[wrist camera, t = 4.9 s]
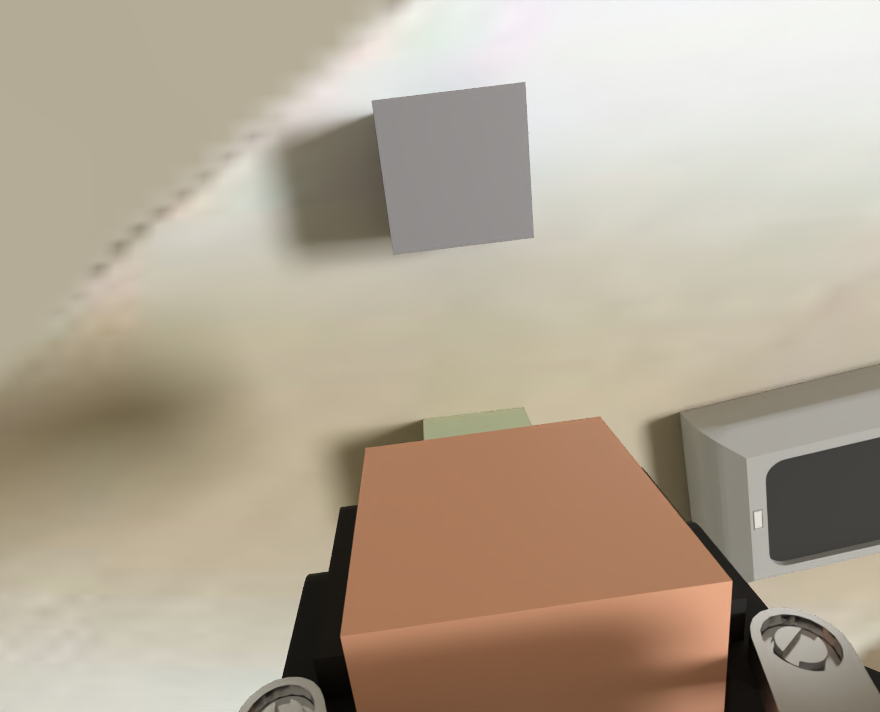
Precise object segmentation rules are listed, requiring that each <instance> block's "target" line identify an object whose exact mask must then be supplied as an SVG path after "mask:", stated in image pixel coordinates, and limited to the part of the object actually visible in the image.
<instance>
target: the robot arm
mask: <svg viewBox="0 0 880 712" xmlns="http://www.w3.org/2000/svg"><path fill="white" fill-rule="evenodd" d="M641 468H642V467H641ZM642 469H643V468H642ZM643 470H644V469H643ZM644 472H645V473H646V474H647V472H646V471H645V470H644ZM647 475H648V474H647ZM648 477H649V478H650V479H651V477H650V476H649V475H648ZM651 480H652V479H651ZM652 482H653V483H654V484H655V482H654V481H653V480H652ZM655 485H656V484H655ZM656 487H657V488H658V489H659V487H658V486H657V485H656ZM659 490H660V489H659ZM660 492H661V493H662V494H663V492H662V491H661V490H660ZM663 495H664V494H663ZM664 497H665V498H666V499H667V497H666V496H665V495H664ZM667 500H668V499H667ZM668 501H669V500H668ZM669 503H670V504H671V502H670V501H669ZM671 505H672V504H671ZM672 506H673V505H672ZM357 508H358V505H354V506H346V507H341V508H340V512H339V518H338V523H337V528H336V534H335V539H334V545H333V550H332V556H331V561H330V567H329V572H322V573H315V574H309V575H308V576H307V577H306V580H305V583H304V587H303V591H302V595H301V600H300V604H299V608H298V612H297V617H296V621H295V625H294V629H293V634H292V638H291V642H290V646H289V651H288V655H287V659H286V663H285V667H284V672H283V676H282V679H278V680H275V681H273V682H271V683H269V684H267V685H265V686H263V687H262V688H260V689H259V690H258V691H256V692H255V693H254V694H253V695H251V696H250V697H249V699H248V700H247V701H246V702H245V703H244V705H243V706H242V707H241V708H240V710H239V712H357V710H356V706H355V701H354V697H353V692H352V688H351V683H350V679H349V674H348V670H347V665H346V661H345V656H344V652H343V647H342V643H341V638H340V634H341V627H342V619H343V612H344V605H345V597H346V590H347V582H348V575H349V567H350V560H351V553H352V545H353V538H354V530H355V523H356V516H357ZM673 508H674V509H675V507H674V506H673ZM675 510H676V509H675ZM676 511H677V510H676ZM677 513H678V514H679V512H678V511H677ZM679 515H680V514H679ZM680 516H681V515H680ZM681 518H682V519H683V517H682V516H681ZM683 520H684V519H683ZM684 521H685V520H684ZM685 523H686V524H687V525H688V526H689V528H690V529H691V530H692V531H693V532H694V534H695V535H696V536H697V537H698V539H699V540H700V541H701V542H702V544H703V545H704V546H705V547H706V549H707V550H708V551H709V552H710V554H711V555H712V556H713V557H714V559H715V560H716V561H717V562H718V563H719V565H720V566H721V567H722V568H723V570H724V571H725V572H726V573H727V575H728V576H729V577H730V578H731V580H732V581H733V582H732V597H731V613H730V628H729V643H728V659H727V674H726V689H725V705H724V712H880V672H878V671H875V670H873V669H870V668H868V667H865V666H863V664H862V662H861V660H860V659H859V657H858V655H857V653H856V651H855V650H854V648H853V646H852V645H851V643H850V642H849V641H848V639H847V638H846V637H845V636H844V634H843V633H842V632H840V631H839V630H838V629H837V628H835V627H834V626H833V625H832V624H830V623H829V622H827V621H825V620H823V619H821V618H820V617H818V616H816V615H813V614H810V613H807V612H805V611H802V610H797V609H791V608H785V607H784V608H770V609H768V608H767V606H766V605H765V604H764V603H763V602H762V600H761V599H760V598H759V597H758V596H757V594H756V593H755V592H754V591H753V590H752V588H751V587H750V586H749V585H748V583H747V582H746V581H745V580H744V579H743V577H742V576H741V575H740V574H739V573H738V571H737V570H736V569H735V568H734V567H733V565H732V564H731V563H730V562H729V561H728V559H727V558H726V557H725V556H724V555H723V553H722V552H721V551H720V550H719V549H718V547H717V546H716V545H715V544H714V543H713V541H712V540H711V539H710V538H709V537H708V535H707V534H706V533H705V532H704V531H703V529H702V528H701V527H700V526H699V525H698V524H697V523H695V522H692V521H690V522H686V521H685Z"/></svg>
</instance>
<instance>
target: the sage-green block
mask: <svg viewBox="0 0 880 712" xmlns="http://www.w3.org/2000/svg"><path fill="white" fill-rule="evenodd" d="M526 426H532V425H531V423H530V420H529V418H528V416H527V413H526V411H525V409H524V407H522V408H514V409H505V410H497V411H489V412H481V413H472V414H464V415H456V416H448V417H439V418H431V419H423V430H424V440H429V439H436V438H444V437H451V436H459V435H466V434H474V433H481V432H489V431H496V430H504V429H511V428H519V427H526Z"/></svg>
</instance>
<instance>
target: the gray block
mask: <svg viewBox="0 0 880 712" xmlns="http://www.w3.org/2000/svg"><path fill="white" fill-rule="evenodd" d="M372 107H373V114H374V121H375V128H376V135H377V142H378V149H379V156H380V163H381V170H382V177H383V184H384V191H385V198H386V205H387V212H388V219H389V226H390V233H391V240H392V247H393V254H394V255H395V254H403V253H411V252H420V251H428V250H436V249H444V248H453V247H461V246H469V245H478V244H486V243H494V242H502V241H511V240H519V239H527V238H534V233H533V214H532V196H531V178H530V160H529V141H528V123H527V105H526V87H525V82H522V83H514V84H505V85H497V86H489V87H481V88H472V89H464V90H456V91H448V92H439V93H431V94H423V95H415V96H406V97H398V98H390V99H382V100H373V101H372Z"/></svg>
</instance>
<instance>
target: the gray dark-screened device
mask: <svg viewBox="0 0 880 712" xmlns="http://www.w3.org/2000/svg"><path fill="white" fill-rule="evenodd" d="M680 420H681V429H682V438H683V447H684V456H685V465H686V474H687V483H688V492H689V501H690V510H691V519H692V522H695V523H697V524H698V525H699V526H700V527H701V528H702V529H703V531H704V532H705V533H706V534H707V535H708V537H709V538H710V539H711V540H712V541H713V543H714V544H715V545H716V546H717V547H718V549H719V550H720V551H721V552H722V553H723V555H724V556H725V557H726V558H727V559H728V561H729V562H730V563H731V564H732V565H733V567H734V568H735V569H736V570H737V571H738V573H739V574H740V575H741V576H742V577H743V579H744V580H745V581H746V582H747V583H748V582H752V581H757V580H761V579H766V578H770V577H775V576H779V575H784V574H788V573H792V572H797V571H801V570H806V569H810V568H815V567H819V566H824V565H828V564H833V563H837V562H842V561H846V560H850V559H855V558H859V557H864V556H868V555H873V554H877V553H880V364H878V365H874V366H869V367H865V368H861V369H857V370H853V371H849V372H845V373H840V374H836V375H832V376H828V377H824V378H820V379H815V380H811V381H807V382H803V383H799V384H795V385H791V386H786V387H782V388H778V389H774V390H770V391H766V392H761V393H757V394H753V395H749V396H745V397H741V398H737V399H732V400H728V401H724V402H720V403H716V404H712V405H707V406H703V407H699V408H695V409H691V410H687V411H683V412H680Z"/></svg>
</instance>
